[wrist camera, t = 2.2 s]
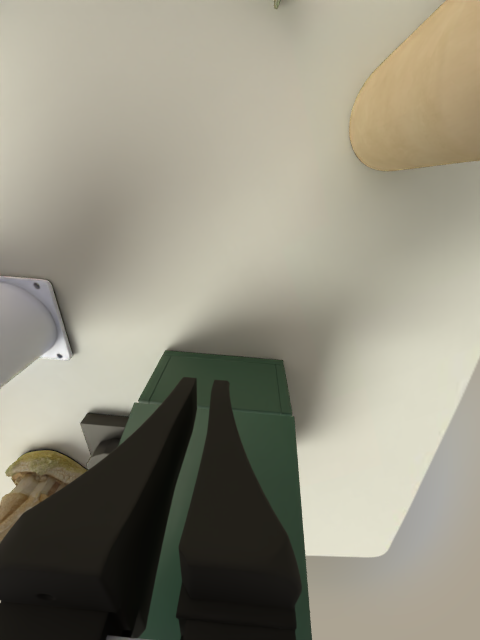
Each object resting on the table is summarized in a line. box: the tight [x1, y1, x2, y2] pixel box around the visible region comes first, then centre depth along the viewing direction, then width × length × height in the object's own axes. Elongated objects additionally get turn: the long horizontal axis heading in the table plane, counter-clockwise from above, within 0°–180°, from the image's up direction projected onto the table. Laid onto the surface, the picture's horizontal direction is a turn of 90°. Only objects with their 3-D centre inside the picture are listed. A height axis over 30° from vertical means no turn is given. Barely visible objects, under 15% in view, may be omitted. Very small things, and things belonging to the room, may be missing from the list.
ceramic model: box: [0, 450, 87, 543], centre depth 30 cm, size 14×11×10 cm
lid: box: [118, 403, 312, 640], centre depth 13 cm, size 14×11×1 cm
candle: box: [349, 0, 480, 171], centre depth 10 cm, size 6×6×10 cm
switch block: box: [80, 413, 129, 470], centre depth 29 cm, size 8×10×3 cm
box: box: [138, 350, 292, 416], centre depth 24 cm, size 14×11×6 cm
